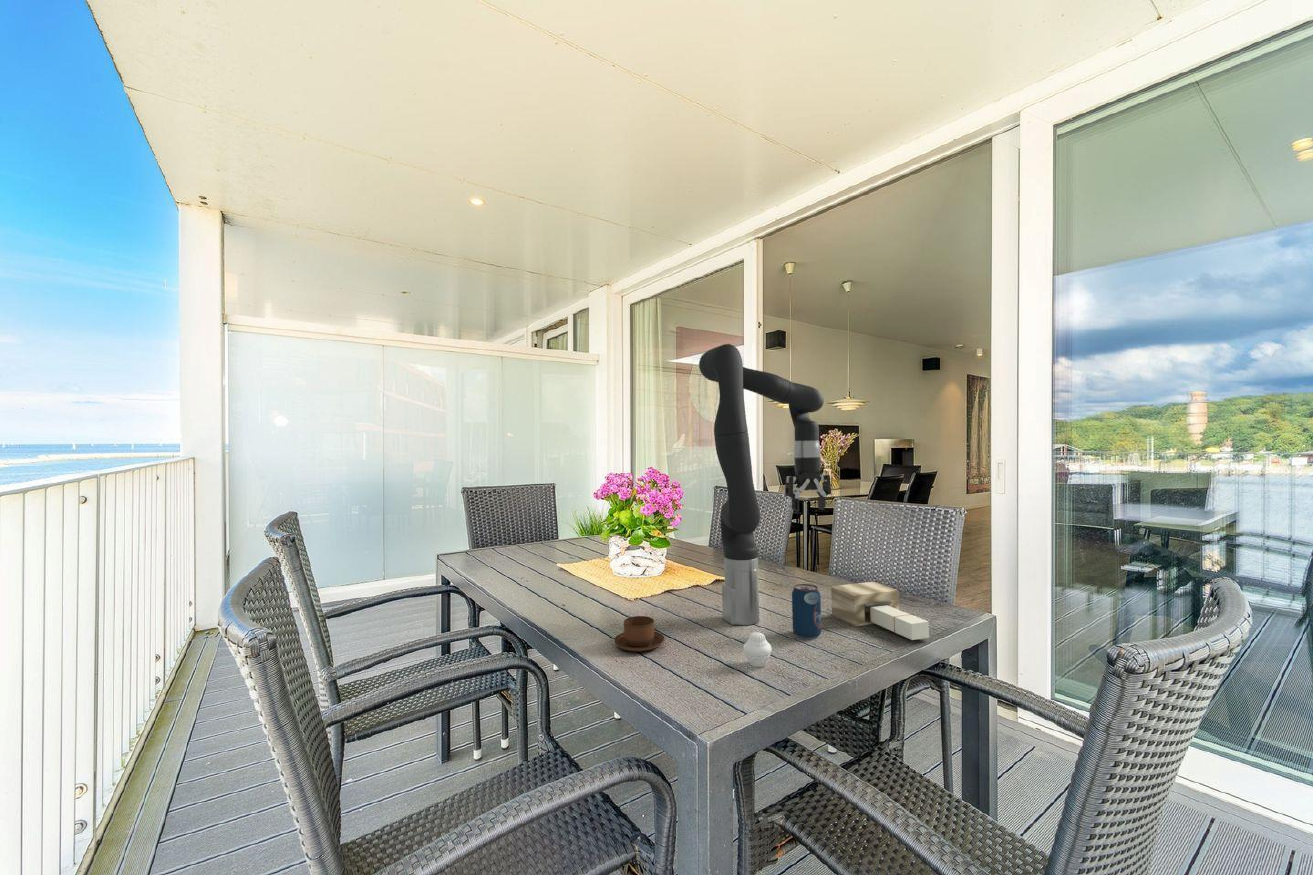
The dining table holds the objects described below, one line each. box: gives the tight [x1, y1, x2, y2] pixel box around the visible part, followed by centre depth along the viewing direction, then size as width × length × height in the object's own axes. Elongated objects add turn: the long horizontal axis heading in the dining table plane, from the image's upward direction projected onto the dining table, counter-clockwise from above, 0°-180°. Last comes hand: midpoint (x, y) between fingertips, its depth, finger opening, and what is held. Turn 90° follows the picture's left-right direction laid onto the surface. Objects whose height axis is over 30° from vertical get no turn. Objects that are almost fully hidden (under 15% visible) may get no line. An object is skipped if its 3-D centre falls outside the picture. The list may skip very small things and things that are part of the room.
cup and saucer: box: [614, 615, 665, 653], centre depth 128 cm, size 12×12×6 cm
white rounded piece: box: [742, 631, 773, 668], centre depth 116 cm, size 6×6×7 cm
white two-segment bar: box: [870, 605, 930, 641], centre depth 133 cm, size 5×14×4 cm, turn 17°
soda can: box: [791, 583, 822, 640], centre depth 133 cm, size 7×7×12 cm
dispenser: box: [830, 581, 900, 627], centre depth 145 cm, size 14×11×8 cm
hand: (808, 510), depth 158 cm, fingers open, 8 cm apart
